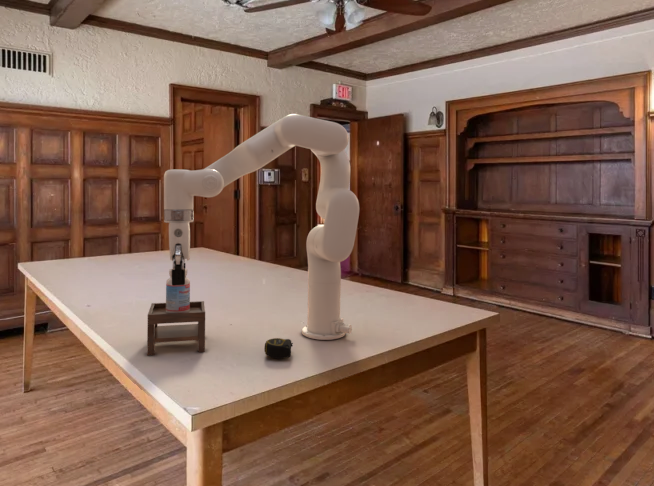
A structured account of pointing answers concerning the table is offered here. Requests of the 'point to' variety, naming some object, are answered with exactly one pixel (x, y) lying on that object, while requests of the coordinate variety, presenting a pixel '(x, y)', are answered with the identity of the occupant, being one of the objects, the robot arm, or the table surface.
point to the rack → (176, 331)
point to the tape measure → (278, 348)
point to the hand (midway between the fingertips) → (178, 281)
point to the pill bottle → (177, 295)
